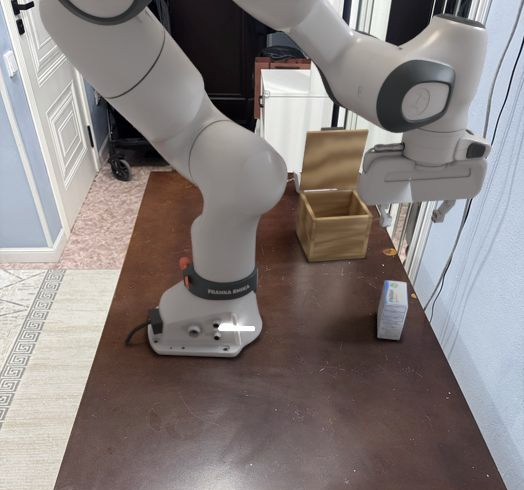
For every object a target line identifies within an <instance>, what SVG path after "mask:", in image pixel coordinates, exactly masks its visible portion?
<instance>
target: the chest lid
mask: <svg viewBox="0 0 524 490" xmlns="http://www.w3.org/2000/svg"><path fill="white" fill-rule="evenodd" d="M369 131H370V130H369V128H362V129H361V128H360V129H345V127H344V126H329V127H328V126H327V127H326V126H325V127H323V126H322V127H321V128H320V130H307V131H306V135H305V142H304V149H303V157H302V164H301V172H300V174H301V180H300V187H299V189H300V191H306V190H325V189H337V190H344V189H355V188H356V186H357V182H358V178H359V173H360V169H361V165H362V163H363V158H364V154H365V149H366V145H367V140H368V137H369Z"/></svg>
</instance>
